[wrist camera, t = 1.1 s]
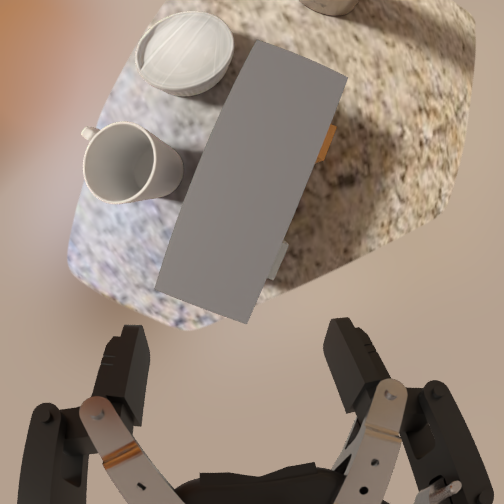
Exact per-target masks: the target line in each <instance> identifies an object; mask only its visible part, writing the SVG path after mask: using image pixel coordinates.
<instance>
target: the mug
mask: <svg viewBox="0 0 504 504" xmlns="http://www.w3.org/2000/svg"><path fill="white" fill-rule="evenodd" d="M81 135H82V136H83V137H84V138H85V139H87V140H88V141H90V143H89V145H88V147H87V149H86V152H85V156H84V161H83V173H84V178H85V182H86V184H87V186H88V188H89V190H90V191H91V192H92V194H93V195H94V196H95V197H97V198H98V199H99V200H101V201H103V202H106V203H109V204H123V203H131V202H136V201H142V200H148V199H154V198H159V197H163V196H166V195H169V194H170V193H172V192H173V191H174V190H175V189H176V188H177V187H178V186H179V184H180V182H181V180H182V177H183V171H184V168H183V162H182V160H181V158H180V156H179V154H178V153H177V152H176V151H175V150H174V149H172V148H171V147H170V146H169V145H167V144H166V143H164V142H163V141H161V140H160V139H159V138H157V137H156V136H155V135H153V134H152V133H150V132H149V131H148V130H146V129H144V128H143V127H141V126H140V125H138V124H135V123H132V122H116V123H113V124H110V125H108V126H106V127H104V128H103V129H101V130H99V129H97V128H94V127H85V128H84V129H83V131H82V133H81Z"/></svg>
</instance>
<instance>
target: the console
mask: <svg viewBox="0 0 504 504" xmlns="http://www.w3.org/2000/svg"><path fill="white" fill-rule="evenodd" d="M347 79H348V77H346V76H344V75H342V74H340V73H338V72H336V71H334V70H332V69H330V68H328V67H325V66H323V65H321V64H319V63H317V62H314V61H312V60H310V59H308V58H305V57H303V56H300V55H298V54H295V53H293V52H290V51H288V50H285V49H282V48H280V47H277V46H274V45H271V44H269V43H266V42H263V41H260V40H256V42H255V44H254V46H253V48H252V49H251V51H250V53H249V55H248V57H247V59H246V61H245V63H244V65H243V67H242V69H241V71H240V73H239V75H238V77H237V79H236V81H235V83H234V85H233V87H232V89H231V91H230V93H229V95H228V97H227V99H226V102H225V104H224V106H223V108H222V110H221V112H220V115H219V117H218V119H217V121H216V123H215V126H214V128H213V130H212V132H211V135H210V137H209V139H208V142H207V144H206V146H205V149H204V151H203V154H202V156H201V158H200V161H199V163H198V166H197V168H196V171H195V173H194V176H193V178H192V181H191V183H190V186H189V189H188V191H187V194H186V197H185V199H184V202H183V205H182V207H181V210H180V213H179V216H178V218H177V221H176V224H175V227H174V230H173V233H172V236H171V238H170V241H169V244H168V247H167V250H166V253H165V257H164V260H163V263H162V266H161V269H160V272H159V276H158V279H157V282H156V285H155V290H157V291H160V292H162V293H165V294H167V295H170V296H172V297H175V298H177V299H180V300H182V301H185V302H187V303H190V304H192V305H195V306H198V307H200V308H203V309H206V310H208V311H211V312H214V313H216V314H219V315H222V316H225V317H227V318H231V319H233V320H236V321H239V322H242V323H244V324H247V322H248V320H249V318H250V316H251V313H252V311H253V308H254V307H255V304H256V302H257V300H258V298H259V295H260V293H261V291H262V288H263V286H264V284H265V282H266V279H267V277H268V275H269V272H270V270H271V268H272V265H273V263H274V261H275V258H276V256H277V254H278V251H279V249H280V247H281V244H282V242H283V240H284V237H285V235H286V232H287V230H288V228H289V225H290V223H291V220H292V218H293V216H294V213H295V211H296V208H297V206H298V204H299V201H300V199H301V196H302V194H303V191H304V189H305V187H306V184H307V182H308V179H309V177H310V174H311V172H312V169H313V167H314V164H315V162H316V159H317V157H318V154H319V152H320V149H321V147H322V144H323V142H324V139H325V137H326V134H327V131H328V129H329V126H330V124H331V121H332V119H333V116H334V113H335V111H336V108H337V106H338V103H339V100H340V98H341V95H342V93H343V90H344V87H345V85H346V82H347Z"/></svg>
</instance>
